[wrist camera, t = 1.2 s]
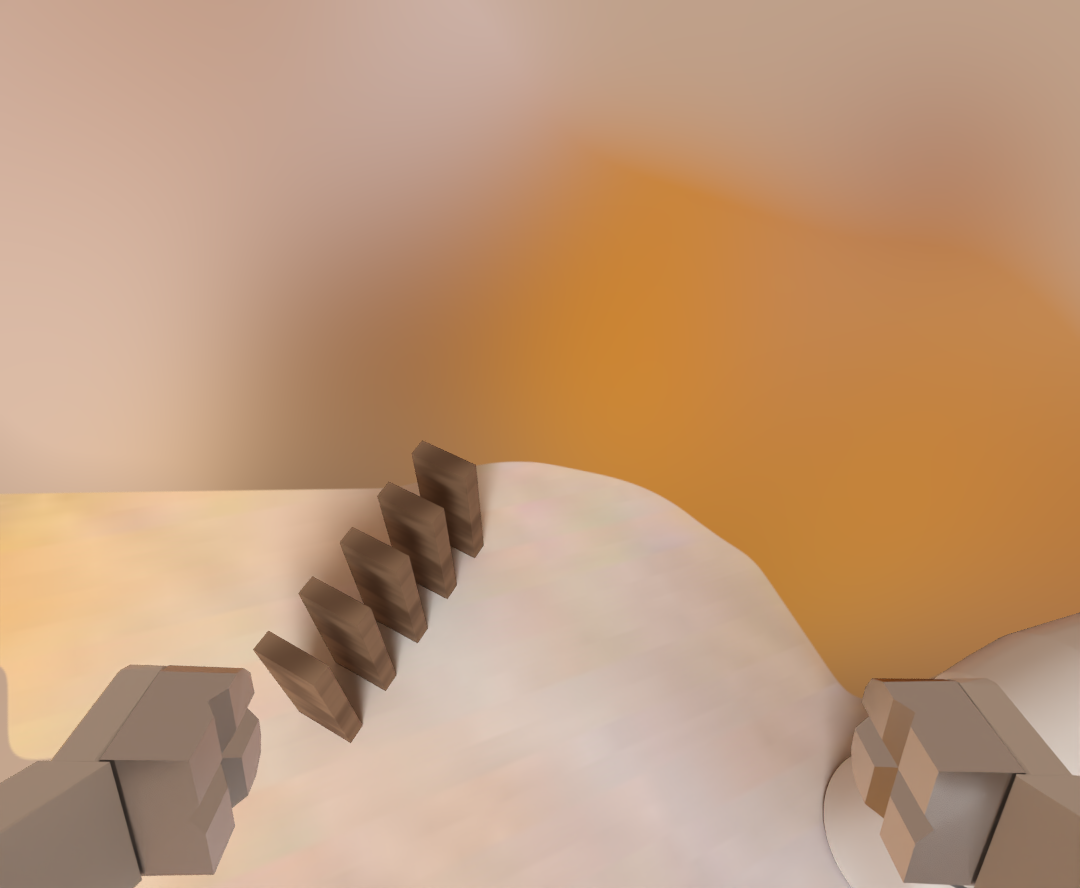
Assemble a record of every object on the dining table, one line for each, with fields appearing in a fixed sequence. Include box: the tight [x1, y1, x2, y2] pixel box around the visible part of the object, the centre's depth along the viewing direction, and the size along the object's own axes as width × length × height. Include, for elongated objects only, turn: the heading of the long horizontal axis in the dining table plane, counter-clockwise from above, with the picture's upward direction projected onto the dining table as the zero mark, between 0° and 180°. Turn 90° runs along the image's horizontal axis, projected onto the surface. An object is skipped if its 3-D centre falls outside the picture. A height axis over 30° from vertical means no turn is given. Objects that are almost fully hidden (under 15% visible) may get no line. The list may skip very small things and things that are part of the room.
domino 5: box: [253, 631, 362, 743], centre depth 65 cm, size 6×2×15 cm, turn 62°
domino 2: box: [378, 482, 456, 599], centre depth 74 cm, size 6×2×15 cm, turn 62°
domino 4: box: [299, 576, 396, 691], centre depth 68 cm, size 6×2×15 cm, turn 62°
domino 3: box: [340, 527, 428, 643], centre depth 71 cm, size 6×2×15 cm, turn 62°
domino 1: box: [412, 441, 483, 558], centre depth 76 cm, size 6×2×15 cm, turn 62°
